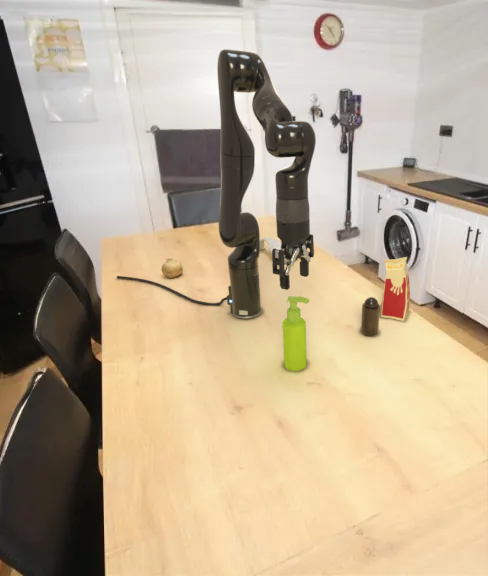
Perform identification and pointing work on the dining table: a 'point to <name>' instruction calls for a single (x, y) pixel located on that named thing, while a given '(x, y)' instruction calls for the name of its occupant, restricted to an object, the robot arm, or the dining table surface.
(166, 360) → the dining table surface
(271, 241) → the spoon rest
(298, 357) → the soap dispenser
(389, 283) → the red cream snack bag
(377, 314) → the pepper mill
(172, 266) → the onion
